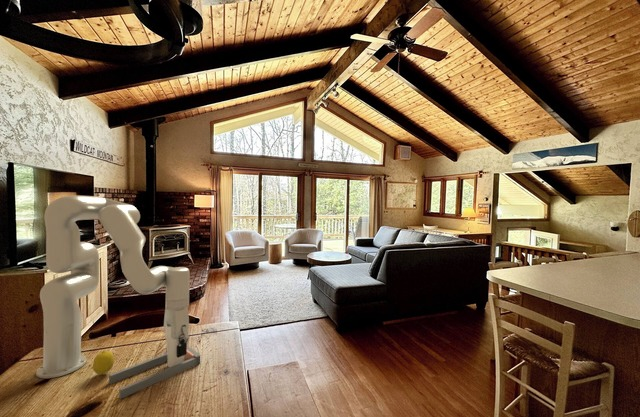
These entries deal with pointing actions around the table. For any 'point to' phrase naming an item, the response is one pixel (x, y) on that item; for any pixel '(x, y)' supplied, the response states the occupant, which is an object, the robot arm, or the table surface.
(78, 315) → the robot arm
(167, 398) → the table surface
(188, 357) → the guide channel
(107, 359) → the lemon
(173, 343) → the drinking glass
